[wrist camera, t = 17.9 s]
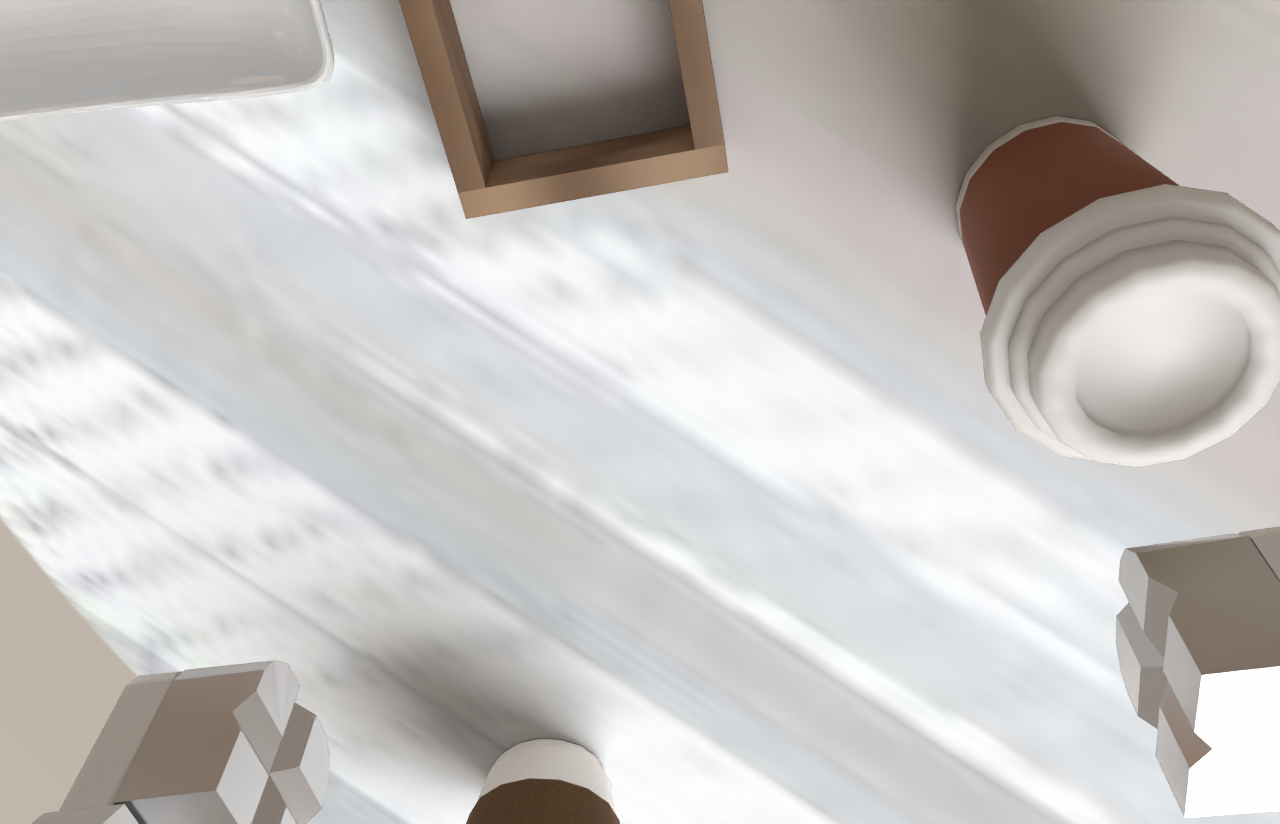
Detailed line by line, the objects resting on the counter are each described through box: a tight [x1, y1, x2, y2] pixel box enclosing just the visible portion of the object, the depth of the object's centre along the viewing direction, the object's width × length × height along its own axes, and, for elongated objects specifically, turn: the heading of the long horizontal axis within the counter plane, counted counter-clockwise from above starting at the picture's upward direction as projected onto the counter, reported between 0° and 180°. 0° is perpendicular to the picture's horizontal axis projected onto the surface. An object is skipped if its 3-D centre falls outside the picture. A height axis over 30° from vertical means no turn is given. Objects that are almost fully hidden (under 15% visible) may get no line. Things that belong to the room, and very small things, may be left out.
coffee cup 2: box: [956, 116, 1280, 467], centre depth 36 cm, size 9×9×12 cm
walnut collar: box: [399, 0, 728, 219], centre depth 37 cm, size 9×9×2 cm
